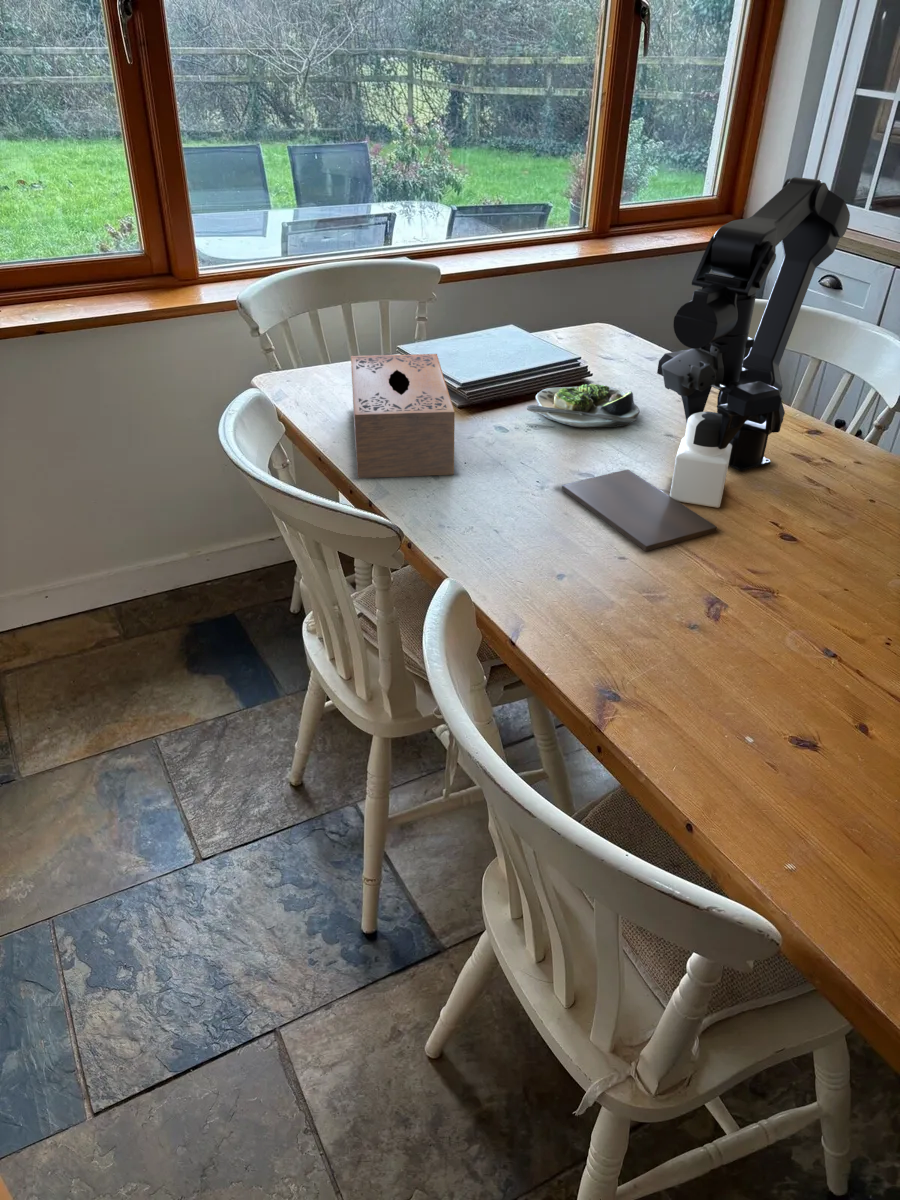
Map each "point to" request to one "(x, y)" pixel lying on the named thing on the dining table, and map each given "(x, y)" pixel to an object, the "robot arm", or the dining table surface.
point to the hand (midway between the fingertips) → (706, 440)
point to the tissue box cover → (402, 416)
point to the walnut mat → (638, 509)
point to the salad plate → (586, 406)
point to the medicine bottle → (701, 462)
